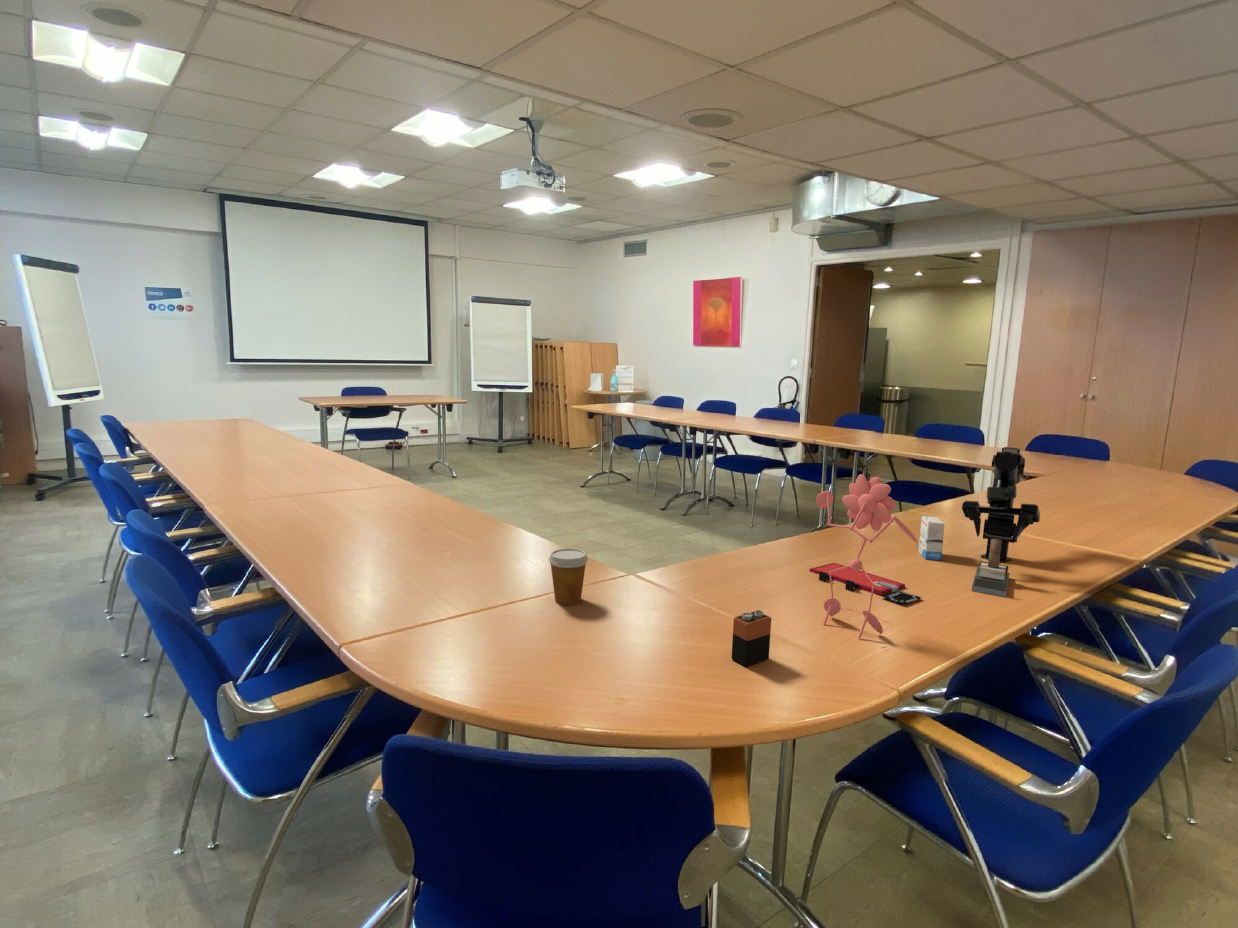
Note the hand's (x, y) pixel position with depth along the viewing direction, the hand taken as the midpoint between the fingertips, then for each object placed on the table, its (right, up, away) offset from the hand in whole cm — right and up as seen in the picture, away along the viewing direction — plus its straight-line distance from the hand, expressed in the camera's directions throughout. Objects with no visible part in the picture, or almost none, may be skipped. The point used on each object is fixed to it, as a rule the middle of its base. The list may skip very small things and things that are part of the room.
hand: (996, 537), depth 182 cm
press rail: (-3, -12, -3) cm, 13 cm away
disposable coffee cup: (-118, -13, -21) cm, 121 cm away
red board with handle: (-39, -13, -6) cm, 42 cm away
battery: (-79, -19, -50) cm, 96 cm away
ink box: (-9, -8, +21) cm, 24 cm away
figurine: (-50, -17, -32) cm, 62 cm away
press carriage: (-2, -10, -2) cm, 11 cm away
